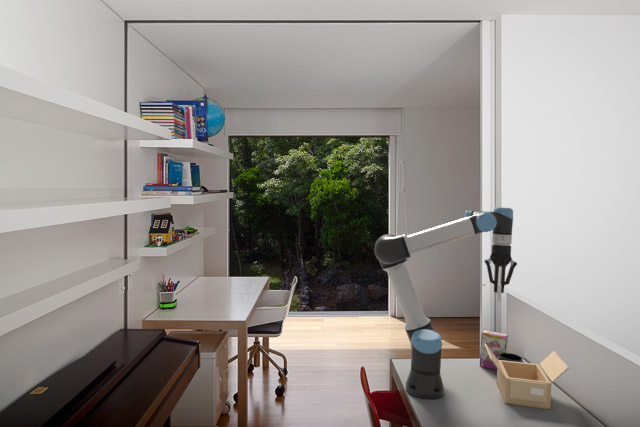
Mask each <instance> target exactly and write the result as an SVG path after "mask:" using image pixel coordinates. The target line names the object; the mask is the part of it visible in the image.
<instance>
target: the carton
mask: <svg viewBox="0 0 640 427" xmlns="http://www.w3.org/2000/svg"><path fill="white" fill-rule="evenodd" d="M498 362H499V364H500V366H501V368H502V371H503V373H504V375H505V376H503V375H502V374H501V372H500V371H499V370H498V368H497V370H496V371H497V372H496V385H497V388H498V390H499V394H500V395H501V398H502V400H503V402H504V405H511V406H512V405H513V406H519V407H527V408H535V409H541V410H542V409H543V410H551V399H552V398H551V397H552V383H553V382H552V381H551V379H550V378H549V377H548V375H547V374H546V372H545V371H544V369H543V368H542V366H541V365H540V363H531V362H530V363H528V362H524V363H522V362H513V361H504V360H498Z"/></svg>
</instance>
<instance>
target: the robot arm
mask: <svg viewBox="0 0 640 427" xmlns="http://www.w3.org/2000/svg"><path fill="white" fill-rule="evenodd" d="M513 223H514V210H513V208H512V207H498V206H496V207H494V209H493V211H484V210H483V211H482V210H465V212H464V214H463V218H460V219H457V220H454V221H453V220H452V221H451V222H450V221H449V222H448V223H445V224H441V225H437V226H434V227H432V228H428V229H425V230H424V229H423V230H422V231H418V232H415V233H412V234H409V235H406V234H404V233H403V234H400V235H395V234H393V233H392V234H391V233H387V234H382V236H379V237H378V238H377V239H376V241H375V244H374V250H373V251H374V252H373V253H374V255H375V257H376V260H378V261H379V264H380V266H381V269H382V270H383V271H385V272H386V274H387V277H388V278H389V281H390V284H391V286H392V288H393V291H394V294H395V296H396V299H397V302H398V303H399V307H400V309H401V312H402V315H403V317H404V320H405V323H406V324H405V326H404V329H405V332H406V336H407V338H408V341H409V344H410V348H411V353H410V354H411V356H410V370H409V374H408V376H407V379H406V381H405V391H406V392H407V393H408V394H409V395H411V396H413V397H416V398H420V399H424V400H435V399H437V400H438V399H440V398H442V397H443V396H444V395H445V386H444V382H443V379H442V376H441V368H442V367H441V365H442V364H441V363H442V346H443V341H442V336H441V334H440V333H438V332H436V330H435V329H434V325H433V323H432V320H431V319H430V318H429V317H427V316H426V315H425V312H424V309H423V306H422V305H421V302H420V299H419V296H418V293H417V291H416V288H415V285H414V284H413V281H412V278H411V275H410V273H409V271H408V270H409V269H408V268H407V263H408V261H409V260H408V259H410V258H411V257H412V256H413V255H414V254H417V253H419V252H423V251H426V250H430V249H433V248H436V247H439V246H443V245H446V244H448V243H452V242H454V241H458V240H461V239H466V238H468V237H472V236H475V235H479V234H482V233H488V232H491V231H492V236H491V237H492V239H491V240H492V241H491V243H492V244H491V254H490V256H489V258H487V259H484V264H485V265H486V269H487V275H488V279H489V282H490V283H491V284H493V292H494V293H495V301H497V302H501V301H502V300H501V299H502V298H501V297H502V294H504V292H505V286H507V285H509V284H510V282H511V279H512V277H513V274H514V270H515V268H516V266H517V265H518V263H517V261H515V260H513V258H512V246H511V245H512V238H513V237H512V236H513V235H512V234H513V225H514V224H513ZM491 262H492V263H491ZM491 264H493V265H494V275H493V272H492V266H491ZM509 264H510V267H509V269H508V273H507V276H506V269H507V268H506V267H507V266H508V265H509ZM500 267H501V268H500ZM500 269H501V270H500ZM499 272H500V284H499Z"/></svg>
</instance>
